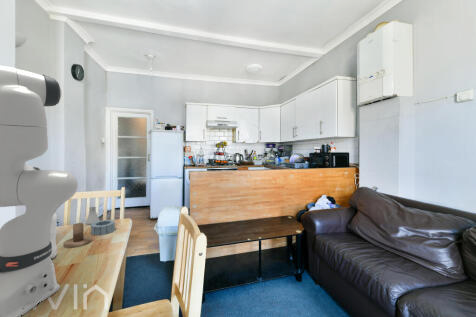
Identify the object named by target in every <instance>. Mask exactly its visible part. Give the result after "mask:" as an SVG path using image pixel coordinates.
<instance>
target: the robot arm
mask: <svg viewBox="0 0 476 317" xmlns="http://www.w3.org/2000/svg"><path fill="white" fill-rule="evenodd" d="M61 98H62V89H61V86H60V83H59V82H58V81H57V80H56V79H55V78H53V77H51V76H49V75H46V74H42V75H41V74H39V73H36V72H32V71H28V70H23V69H21V68H16V67H14V66H9V65H3V64H0V208H4V207H5V208H6V207H18V206H19V207H21V206H22V207H23V206H25V212H24V213H23V214H20V215H18V216H16V217H14V218H12V219H10V220H8V221H6V222H5V223H4V224H2V226H1V227H0V317H22V316H23V315H25V314H26V313H28V312H29V311H31V310H32V309H33V308H35V307H37V304H38V303H39V302H40V303H42V302H44V300H46V299H47V298H50V296H52V295H53V294H55V293H56V292H58V291H59V290H60V284H59V283H58V281H57V277H56V270H55V264H54V262H53V260H52V258H51V256H50V255H51V253H52V244H51V242H50V226H51V220H52V217H53V215H54V213H55V214H56V212H57V210H58V209H60V207H61V206H63V204H65V203H66V202H67V201H68V200H70V199H71V198H73V197H74V195H75V194H76V192H77V190H78V187H79V186H78V184H79V183H78V179H77V178H76V176H75V175H74V174H73V173H71V171H65V170H58V169H41V168H40V167H36V166H31V165H29V164H27V162H28V161H32V160H34V159H37V158H39V157H41V156H42V155H45V153H47V151H48V147H49V146H48V145H49V143H48V124H47V123H48V122H47V114H46V110H45V107H54V106H56V105H59V103H60V100H61ZM41 301H42V302H41ZM40 303H39V304H40ZM39 304H38V305H39ZM21 315H22V316H21Z"/></svg>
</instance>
